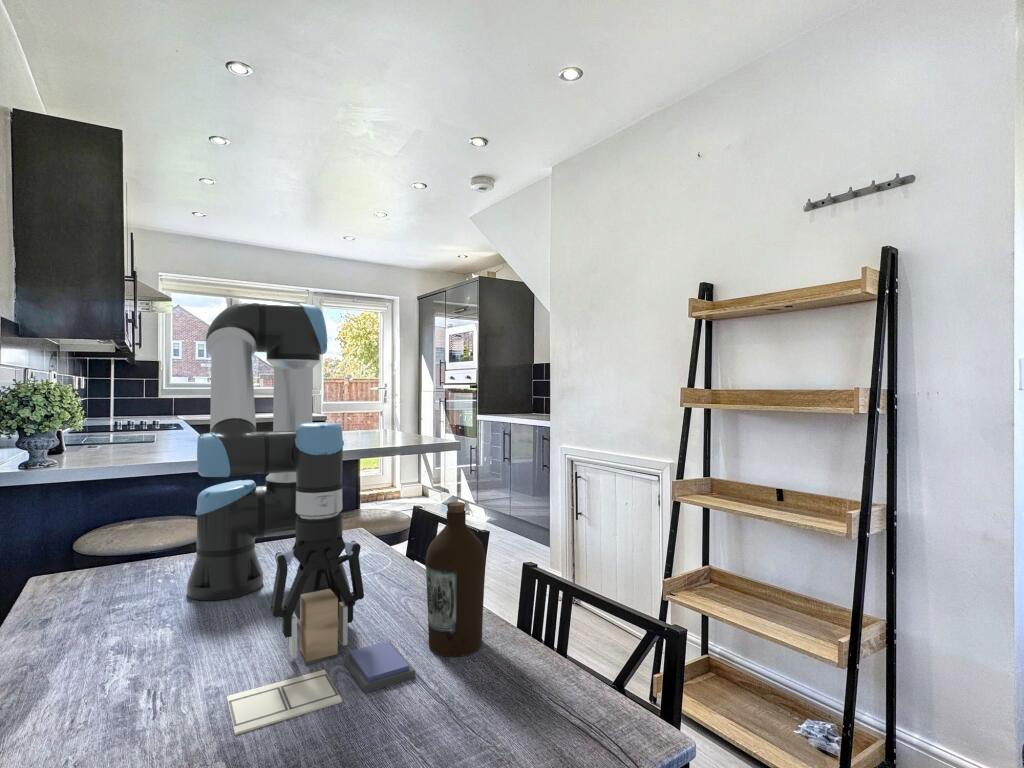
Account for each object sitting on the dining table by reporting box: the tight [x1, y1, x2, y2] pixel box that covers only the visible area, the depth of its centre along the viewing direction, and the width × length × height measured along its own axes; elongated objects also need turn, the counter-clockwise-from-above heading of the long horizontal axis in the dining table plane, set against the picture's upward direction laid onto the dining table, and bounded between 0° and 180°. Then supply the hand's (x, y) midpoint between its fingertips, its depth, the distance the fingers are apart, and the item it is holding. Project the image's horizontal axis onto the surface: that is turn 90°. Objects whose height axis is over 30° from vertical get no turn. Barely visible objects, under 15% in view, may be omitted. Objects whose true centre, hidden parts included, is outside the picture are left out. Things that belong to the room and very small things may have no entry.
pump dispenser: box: [294, 553, 351, 630], centre depth 103 cm, size 10×10×15 cm
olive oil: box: [424, 501, 487, 658], centre depth 97 cm, size 11×11×25 cm
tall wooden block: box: [299, 589, 339, 666], centre depth 93 cm, size 5×5×10 cm
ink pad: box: [343, 641, 416, 694], centre depth 89 cm, size 11×8×2 cm
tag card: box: [226, 669, 343, 736], centre depth 80 cm, size 10×14×1 cm
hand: (318, 647), depth 93 cm, fingers open, 8 cm apart
